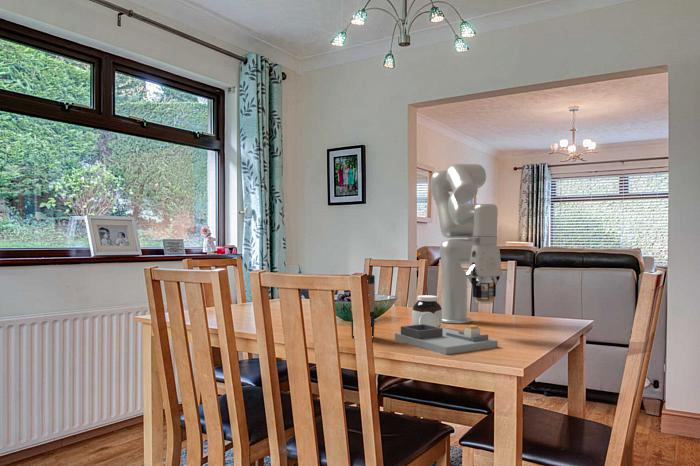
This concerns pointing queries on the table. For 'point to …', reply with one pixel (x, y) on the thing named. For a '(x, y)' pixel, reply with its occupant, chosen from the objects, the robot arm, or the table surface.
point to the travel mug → (371, 301)
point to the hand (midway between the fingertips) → (484, 296)
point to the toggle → (471, 331)
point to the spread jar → (427, 311)
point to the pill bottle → (486, 291)
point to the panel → (443, 339)
